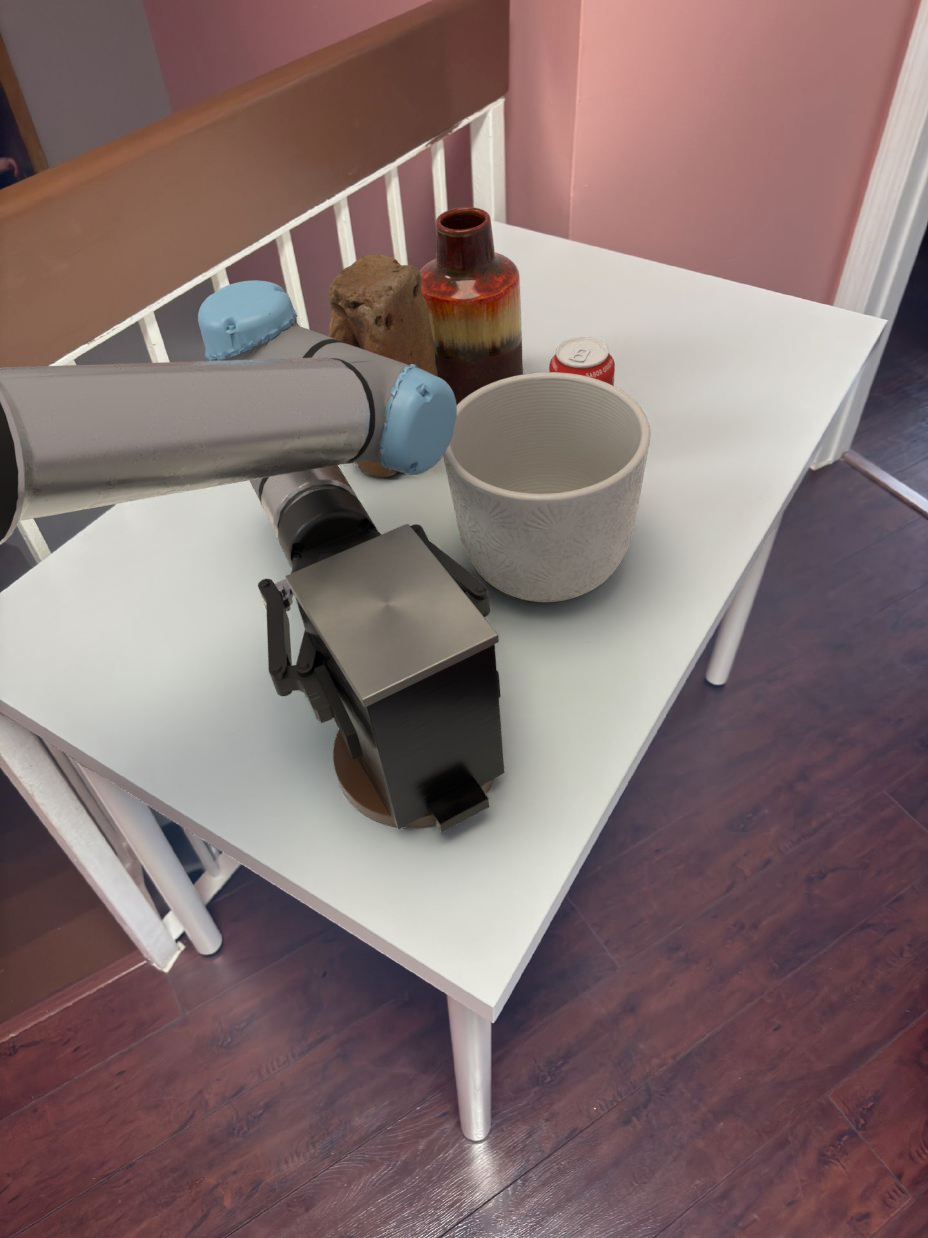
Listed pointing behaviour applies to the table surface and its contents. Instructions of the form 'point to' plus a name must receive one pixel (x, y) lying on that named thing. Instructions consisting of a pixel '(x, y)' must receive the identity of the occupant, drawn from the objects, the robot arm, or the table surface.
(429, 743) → the bin
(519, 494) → the planter
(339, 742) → the disc
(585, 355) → the beverage can
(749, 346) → the table surface
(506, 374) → the vase
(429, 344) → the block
